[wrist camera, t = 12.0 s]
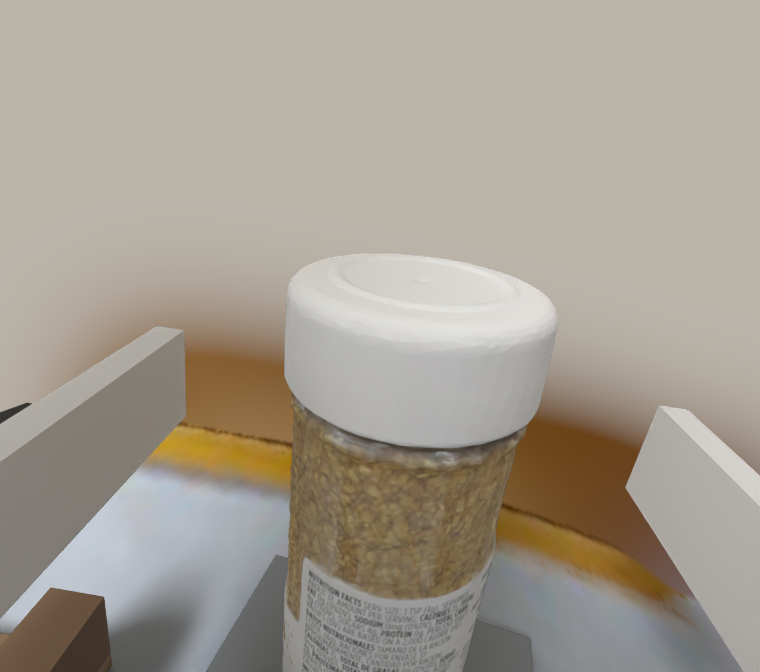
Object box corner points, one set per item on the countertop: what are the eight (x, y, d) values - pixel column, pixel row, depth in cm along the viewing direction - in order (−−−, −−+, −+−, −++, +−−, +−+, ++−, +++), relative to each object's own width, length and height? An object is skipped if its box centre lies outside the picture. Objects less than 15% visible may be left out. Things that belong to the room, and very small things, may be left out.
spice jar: (320, 637, 15) (349, 237, 10) (454, 691, 14) (559, 270, 9) (241, 807, 11) (225, 283, 6) (420, 903, 10) (576, 353, 5)
